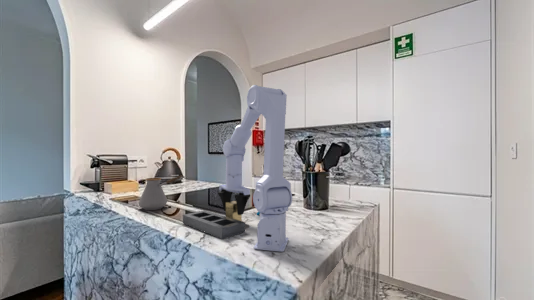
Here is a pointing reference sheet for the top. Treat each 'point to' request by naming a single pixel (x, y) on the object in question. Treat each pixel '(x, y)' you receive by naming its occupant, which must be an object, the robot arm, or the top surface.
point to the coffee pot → (154, 194)
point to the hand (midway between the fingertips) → (233, 212)
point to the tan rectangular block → (232, 210)
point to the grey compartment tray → (214, 224)
